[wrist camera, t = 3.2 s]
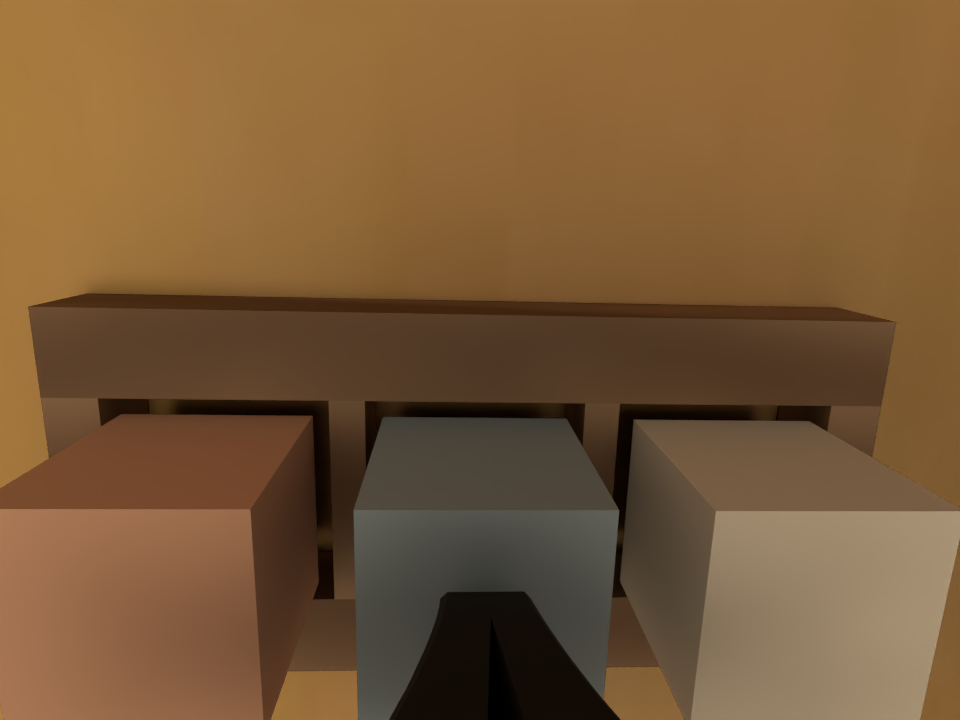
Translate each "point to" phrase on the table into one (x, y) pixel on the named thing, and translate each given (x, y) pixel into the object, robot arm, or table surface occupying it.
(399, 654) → the slate blue key
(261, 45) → the table surface
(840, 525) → the cream key
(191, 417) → the terracotta key
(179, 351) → the socket board
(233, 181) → the table surface
